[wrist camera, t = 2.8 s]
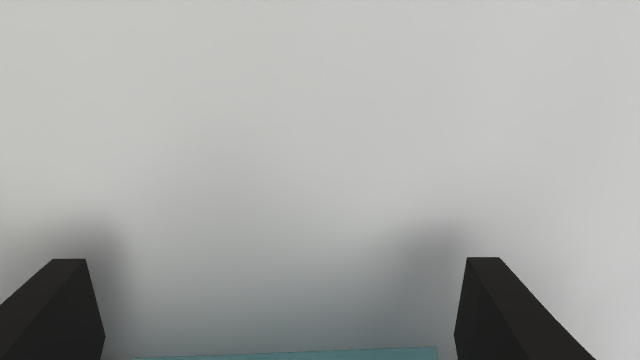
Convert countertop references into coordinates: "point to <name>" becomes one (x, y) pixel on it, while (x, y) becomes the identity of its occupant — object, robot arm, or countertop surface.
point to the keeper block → (325, 355)
